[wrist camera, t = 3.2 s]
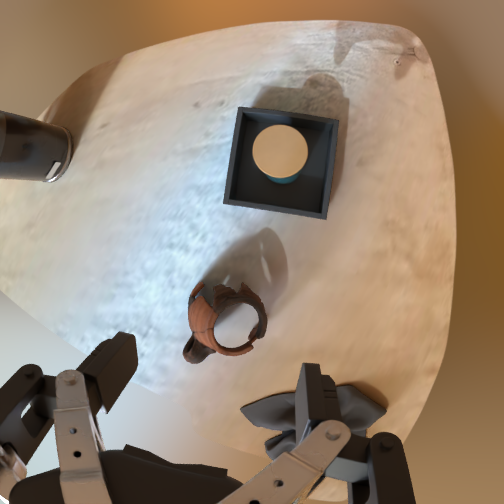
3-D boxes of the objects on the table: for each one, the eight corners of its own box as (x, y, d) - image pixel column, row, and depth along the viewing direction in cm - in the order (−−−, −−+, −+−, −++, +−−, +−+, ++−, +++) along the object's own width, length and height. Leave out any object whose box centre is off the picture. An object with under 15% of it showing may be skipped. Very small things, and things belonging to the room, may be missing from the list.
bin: (230, 204, 36) (222, 203, 32) (243, 117, 34) (238, 106, 30) (322, 219, 34) (326, 219, 30) (334, 129, 33) (339, 120, 29)
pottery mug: (206, 257, 37) (227, 273, 30) (260, 292, 41) (290, 313, 34) (158, 333, 36) (167, 366, 29) (214, 360, 40) (234, 392, 33)
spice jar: (253, 172, 34) (242, 160, 26) (274, 137, 33) (269, 115, 25) (290, 193, 34) (290, 187, 26) (311, 158, 33) (317, 141, 25)
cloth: (394, 383, 36) (406, 407, 30) (363, 464, 39) (368, 488, 33) (242, 377, 39) (234, 402, 32) (237, 459, 41) (231, 484, 35)
